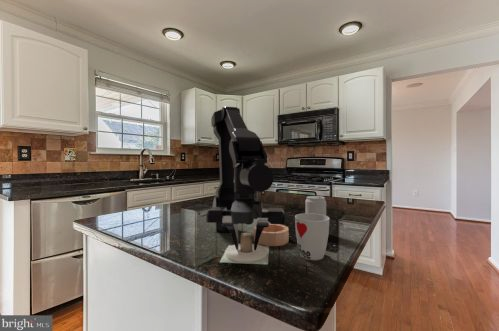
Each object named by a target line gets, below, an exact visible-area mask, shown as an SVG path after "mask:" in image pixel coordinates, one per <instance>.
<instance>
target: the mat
mask: <svg viewBox="0 0 499 331" xmlns="http://www.w3.org/2000/svg"><path fill="white" fill-rule="evenodd" d="M232 245H233V244H232ZM232 245H231V244H229V245H228V246H227V247H226V249H227V248H228V247H230V246H232ZM262 246H263V247H265V248H266V249H267V256H266V258H264V259H262V260H260V261H256V262H248V263H243V262H235V261H232V260H230V259H228V258H227V257H226V256H225V252H224V253H223V255H222V257H220V258H221V259H220V260H219V263H226V264H227V263H228V264H250V265H268V264H269V252H270V246H265V245H262Z"/></svg>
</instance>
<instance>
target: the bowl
mask: <svg viewBox="0 0 499 331" xmlns="http://www.w3.org/2000/svg"><path fill="white" fill-rule="evenodd" d="M289 230H290V229H289V227H288V226H286V225H285V224H271V223H269V227H264V229H263V231H262V233H261V235H260V238H259V242H258V245H261V246H269V247H279V246H285V245H287V244H288V243H289V236H290V235H289ZM255 234H256V226H255V225H254V228H253V241H254V242H255Z"/></svg>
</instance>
